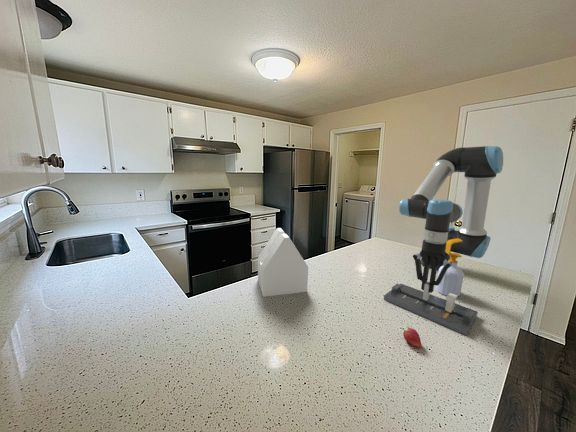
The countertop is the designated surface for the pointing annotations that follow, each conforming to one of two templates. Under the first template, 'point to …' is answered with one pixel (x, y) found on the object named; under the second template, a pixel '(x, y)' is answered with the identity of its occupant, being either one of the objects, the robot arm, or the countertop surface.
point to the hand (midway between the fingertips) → (425, 298)
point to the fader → (450, 302)
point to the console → (432, 308)
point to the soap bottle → (451, 273)
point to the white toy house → (281, 267)
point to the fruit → (412, 337)
